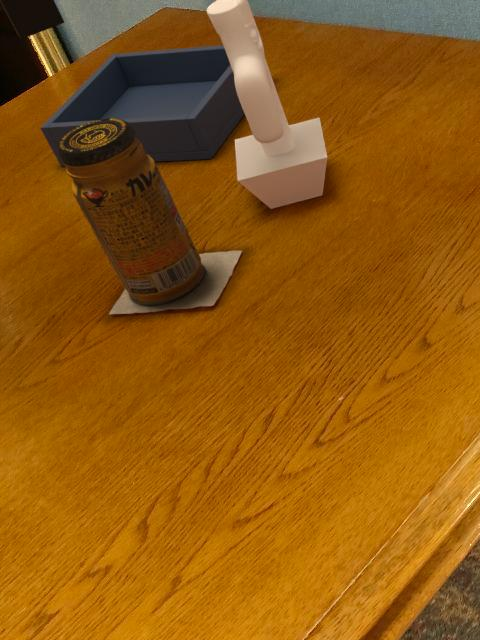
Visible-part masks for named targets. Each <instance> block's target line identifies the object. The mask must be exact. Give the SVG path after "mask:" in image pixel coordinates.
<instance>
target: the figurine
mask: <svg viewBox="0 0 480 640" xmlns="http://www.w3.org/2000/svg"><path fill="white" fill-rule="evenodd" d="M206 14H207V16H208V18H209V20H210V22H211V24H212V26H213V29H215V30H214V31H215V32H216V34H217V35H218V36H219V38H220V41H221V44H222V45H223V46H224V48H225V51H226V54H227V56H228V59H229V62H230V65H231V67H232V70H233V73H234V80H235V88H236V92H237V95H238V98H239V101H240V103H241V106H242V108H243V111H244V113H245V114H244V116H245V118H246V120H247V123H248V126H249V129H250V131H251V135H247V136H243V137H240V138H239V137H238V138H235V139H234V150H235V165H236V181H237V182H238V183H239V184H241V186H243V188H245V189H246V190H247V191H249V192H250V193H251V194H252V195H254V196H255V197H256V198H257V199H259V201H261V202H262V203H263V204H264V205H265V206H267V207H268V208H269V209H270V210H272V209H276V208H280V207H284V206H287V205H291V204H295V203H298V202H304V201H307V200H310V199H314V198H318V197H321V196H323V195H324V194H323V192H324V187H325V186H324V185H325V179H326V172H327V171H326V170H327V163H328V154H327V150H326V149H327V148H326V143H325V138H324V133H323V129H322V124H321V117H316V118H315V117H314V118H311V119H308V120H304V121H300V122H296V123H293V124H289V122H288V119H287V117H286V114H285V113H286V112H285V111H284V108H283V105H282V101H281V99H280V97H279V94H278V92H277V88H276V85H275V81H274V80H273V77H272V74H271V71H270V68H269V65H268V62H267V59H266V56H265V48H264V43H263V40H262V37H261V34H260V31H259V28H258V26H257V23H256V21H255V18H254V15H253V12H252V9H251V6H250V4H249V1H248V0H215V1H213V2H212V3H210V5H209V6H208V7H207V8H206Z"/></svg>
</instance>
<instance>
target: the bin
mask: <svg viewBox="0 0 480 640" xmlns="http://www.w3.org/2000/svg"><path fill="white" fill-rule="evenodd" d="M244 116H245V113H244V111H243V108H242V106H241V103H240V101H239V98H238V95H237V92H236V88H235V80H234V73H233V70H232V67H231V65H230V62H229V59H228V56H227V54H226V51H225V48H224V46H223V44H222V45H209V46H208V45H207V46H197V47H184V48H171V49H158V50H146V51H134V52H133V51H132V52H121V53H111V54H110V56H109V57H108V58H106V60H105V61H104V62H103V63H102V64H101V65H100V66H99V67H98V68H97V69H96V70H95V71H94V72H93V73H92V74H91V75H90V76H89V77H88V78H87V79H85V81H84V83H82V84H81V85H80V86H79V87H78V89H77V90H75V92H74V93H72V94H71V96H69V97H68V98H67V100H66V101H65V102H64V103H63V104H62V105H61V106H60V107H59V108H58V109H57V110H56V111H55V112H54V113H53V114H52V115H51V116H50V117H49V118H47V120H46V121H45V122H44V123H43V124H42V125H41V126H40V127H39V128H40V130H41V132H42V134H43V136H44V138H45V139H46V141H47V143H48V145H49V147H50V149H51V150H52V152H53V154H54V156H55V158H56V159H57V161H58V163H59V165H60V167H65V165H64V163H63V162H62V160H61V159H60V156H59V154H58V143H59V142H60V141H61V139H62V138H63V137H64V136H65V135H66V134H68V133H69V132H71V131H72V130H73V129H75V128H77V127H80V126H81V125H84V124H87V123H89V122H93V121H97V120H101V119H108V118H116V119H121V120H124V121H127V122H129V123H130V124H131V126H132V127H133V129H134V131H135V136H136V138H137V139H138V140H139V141H140V142H141V144H142V146H143V149H144V151H145V153H146V154H147V155H148V156H150V157H151V158H152V159H153V160H154V162H155V163H159V162H176V161H178V162H179V161H196V160H197V161H198V160H212V159H213V157H214V156H215V155H216V154H217V152H218V151H219V150H220V148H221V147H222V145H223V144H224V143H225V142H226V140H227V138H228V137H229V136H230V135H231V133H232V132H233V131H234V129H235V128H236V126H237V125H238V124H239V122H240V121H241V119H243V117H244Z"/></svg>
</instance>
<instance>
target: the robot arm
mask: <svg viewBox="0 0 480 640" xmlns="http://www.w3.org/2000/svg"><path fill="white" fill-rule="evenodd" d="M0 4H1V7H2V8H3V10H4V12H5V13H6V16H7V17H8V20H9V21H10V23H11V25H12V26H13V29H14V31H15V33H16V35H17V36H18V37H19V38H20V40H24V39H26V38H28V37H31V36H34V35H36V34H39V33H42V32H44V31H46V30H49V29H52V28H54V27H57V26H60V25H62V24H65V23H66V22H65V20H64V17H63V16H62V14H61V12H60V10H59V8H58V6H57V4H56V2H55V0H0Z"/></svg>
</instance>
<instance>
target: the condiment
mask: <svg viewBox="0 0 480 640" xmlns="http://www.w3.org/2000/svg"><path fill="white" fill-rule="evenodd" d="M58 154H59V156H60V159H61V160H62V162H63V163H64V165H65V166H64V167H65V171H66V173H67V175H68V177H70V178H71V179H72V181H71V192H72V195H73V197H74V198H75V200H76V203H77V204H78V205H79V209H80V211H81V212H82V214H83V216H84V218H85V219H86V221H87V222H88V224H89V226H90V228H91V230H92V233H93V234H94V236H95V237H96V239H97V241H98V242H99V245H100V248H102V250H103V253H104V255H105V256H106V257H107V260H108V261H109V264H110V265H111V266H112V268H113V270H114V272H115V273H116V275H117V278H118V280H119V282H120V283H121V285H122V287H123V288H124V290H123V292H122V294H121V295H120V296H119V298H118V299H117V301H115V303H114V305H113V306H112V308H111V309H110V311H109V313H108V315H123V314H124V315H131V314H135V313H136V314H137V313H138V314H146V313H150V312H151V313H156V312H160V311H163V312H164V311H167V310H182V309H183V310H184V309H187V310H189V309H194V308H199V307H212V306H214V305H216V302H217V300H219V298H220V296H221V294H222V293H223V291H224V288H225V287H226V286H227V284H228V281H229V279H230V277H231V276H233V272H234V269H235V267H236V265H237V263H238V262H239V258H240V257H241V254H242V253H243V250H228V251H215V252H204V253H199V252H198V250H197V249H196V245H195V244H194V242H193V239H192V237H191V236H190V234H189V230H188V228H187V227H186V224H185V222H184V221H183V219H182V215H180V212H179V210H178V207H177V206H176V204H175V202H174V199H173V197H172V194H171V193H170V190H169V188H168V186H167V184H166V182H165V180H164V177H163V176H162V174H161V171H160V170H159V167H158V165H157V162H154V160H153V159H152V158H151V157H150V156H148V155H147V154H146V153H145V151H144V149H143V146H142V144H141V142H140V141H139V140H138V139H137V138H136V136H135V131H134V129H133V127H132V126H131V124H130V123H129V122H127V121H124V120H121V119H116V118H108V119H101V120H97V121H93V122H89V123H87V124H84V125H81V126H80V127H77V128H75V129H73V130H72V131H71V132H69V133H68V134H66V135H65V136H64V137H63V138H62V139H61V141H60V142H59V143H58Z"/></svg>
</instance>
